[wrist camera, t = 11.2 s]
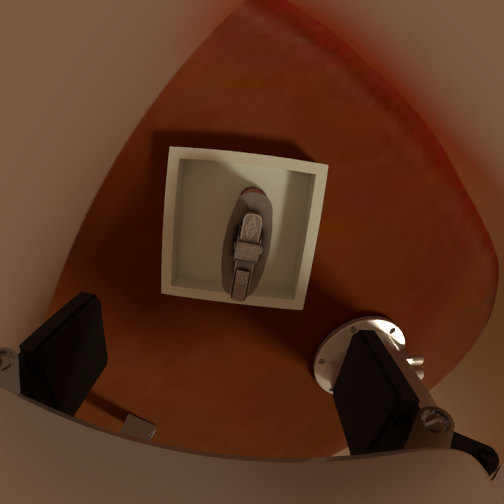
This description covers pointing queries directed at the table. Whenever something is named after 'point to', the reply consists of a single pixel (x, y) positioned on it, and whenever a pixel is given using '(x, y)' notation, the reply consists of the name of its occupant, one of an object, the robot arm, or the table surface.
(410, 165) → the table surface
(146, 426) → the vintage mobile phone
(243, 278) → the lighter
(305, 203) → the tray
